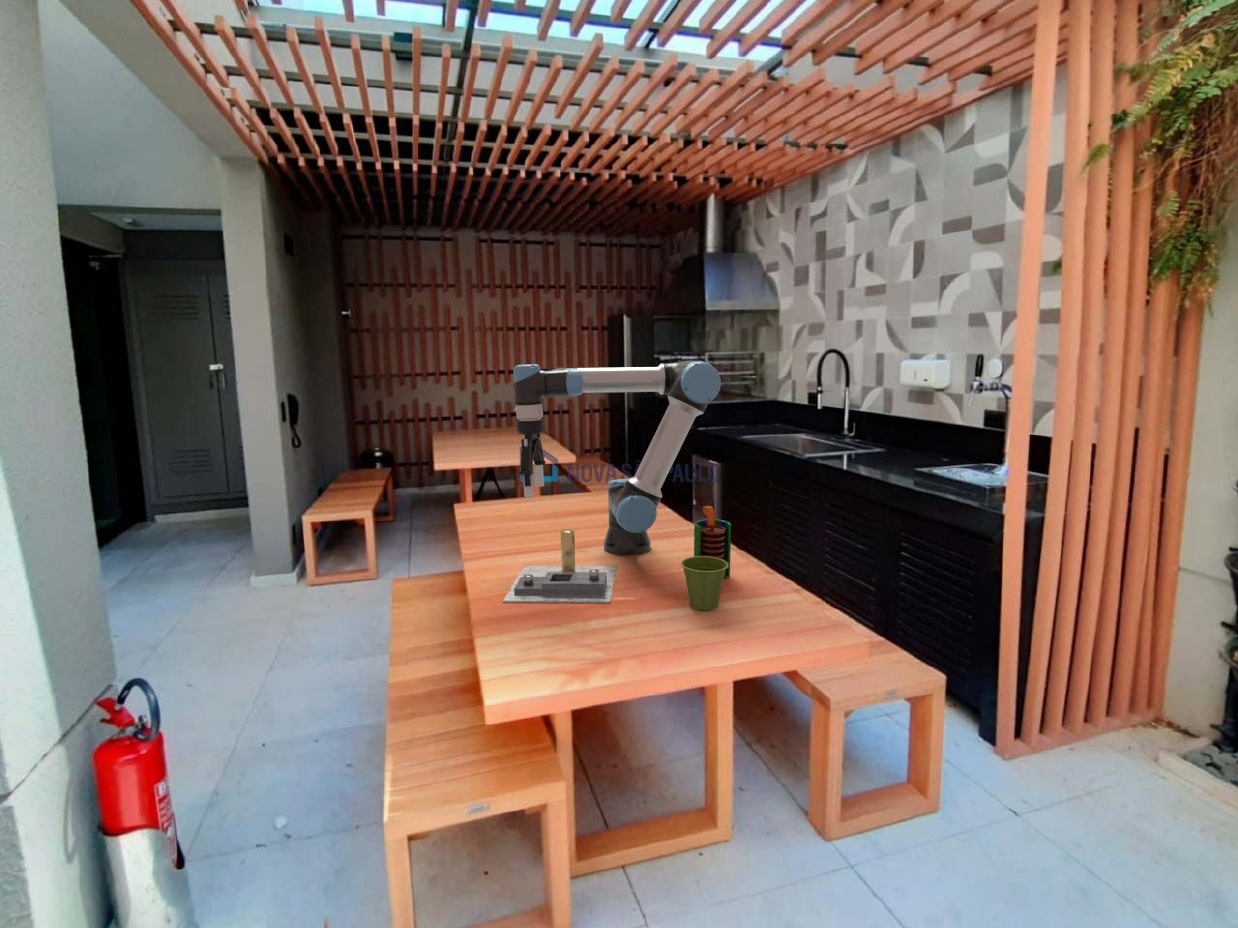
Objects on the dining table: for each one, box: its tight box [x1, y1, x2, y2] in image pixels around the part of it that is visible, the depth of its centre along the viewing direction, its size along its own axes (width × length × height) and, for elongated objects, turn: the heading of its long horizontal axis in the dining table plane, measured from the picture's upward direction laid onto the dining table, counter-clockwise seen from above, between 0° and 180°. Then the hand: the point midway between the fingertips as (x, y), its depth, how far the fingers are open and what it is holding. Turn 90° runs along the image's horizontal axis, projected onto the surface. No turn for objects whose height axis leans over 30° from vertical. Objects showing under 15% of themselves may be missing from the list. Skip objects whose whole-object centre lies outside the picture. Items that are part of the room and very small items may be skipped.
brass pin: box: [559, 528, 576, 572], centre depth 192 cm, size 4×4×12 cm
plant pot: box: [680, 556, 729, 611], centre depth 166 cm, size 12×12×11 cm
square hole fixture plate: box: [502, 565, 618, 604], centre depth 183 cm, size 28×27×6 cm
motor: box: [693, 505, 732, 581], centre depth 186 cm, size 10×9×20 cm
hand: (534, 491), depth 192 cm, fingers open, 13 cm apart
